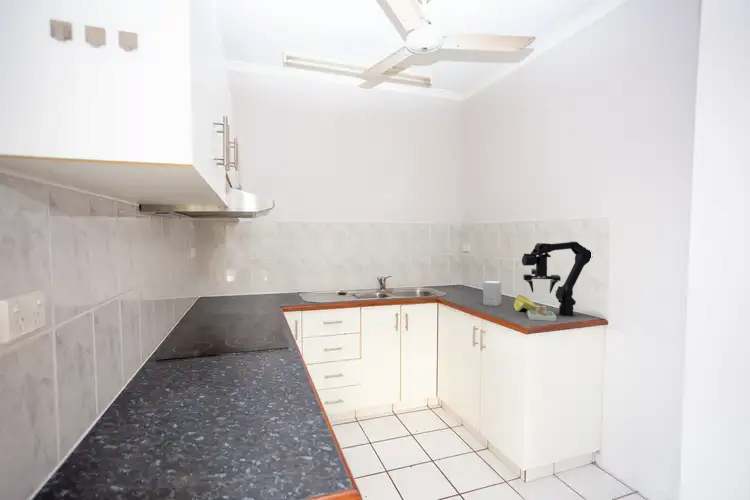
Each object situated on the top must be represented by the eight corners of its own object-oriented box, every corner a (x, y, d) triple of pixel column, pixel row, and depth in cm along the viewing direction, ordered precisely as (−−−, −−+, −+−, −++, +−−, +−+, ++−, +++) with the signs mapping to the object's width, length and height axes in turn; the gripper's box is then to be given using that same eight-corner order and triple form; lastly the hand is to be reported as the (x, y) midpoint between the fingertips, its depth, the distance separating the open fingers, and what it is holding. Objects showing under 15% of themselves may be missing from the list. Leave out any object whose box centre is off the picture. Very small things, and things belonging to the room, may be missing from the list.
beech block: (544, 316, 204) (545, 305, 204) (546, 318, 200) (546, 307, 200) (536, 316, 205) (536, 305, 205) (537, 317, 201) (537, 306, 201)
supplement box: (501, 304, 241) (501, 281, 241) (496, 306, 235) (496, 283, 234) (488, 302, 247) (488, 280, 247) (482, 304, 240) (482, 281, 240)
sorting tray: (552, 315, 207) (552, 311, 207) (556, 321, 195) (556, 316, 194) (527, 314, 211) (527, 310, 211) (529, 319, 198) (529, 315, 198)
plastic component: (538, 309, 215) (522, 301, 217) (532, 319, 217) (516, 312, 218) (531, 300, 235) (516, 293, 236) (525, 310, 236) (511, 303, 237)
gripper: (556, 264, 214) (556, 290, 214) (522, 263, 218) (521, 290, 219) (560, 265, 203) (560, 294, 204) (524, 265, 208) (524, 293, 208)
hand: (541, 292), depth 209 cm, fingers open, 9 cm apart
